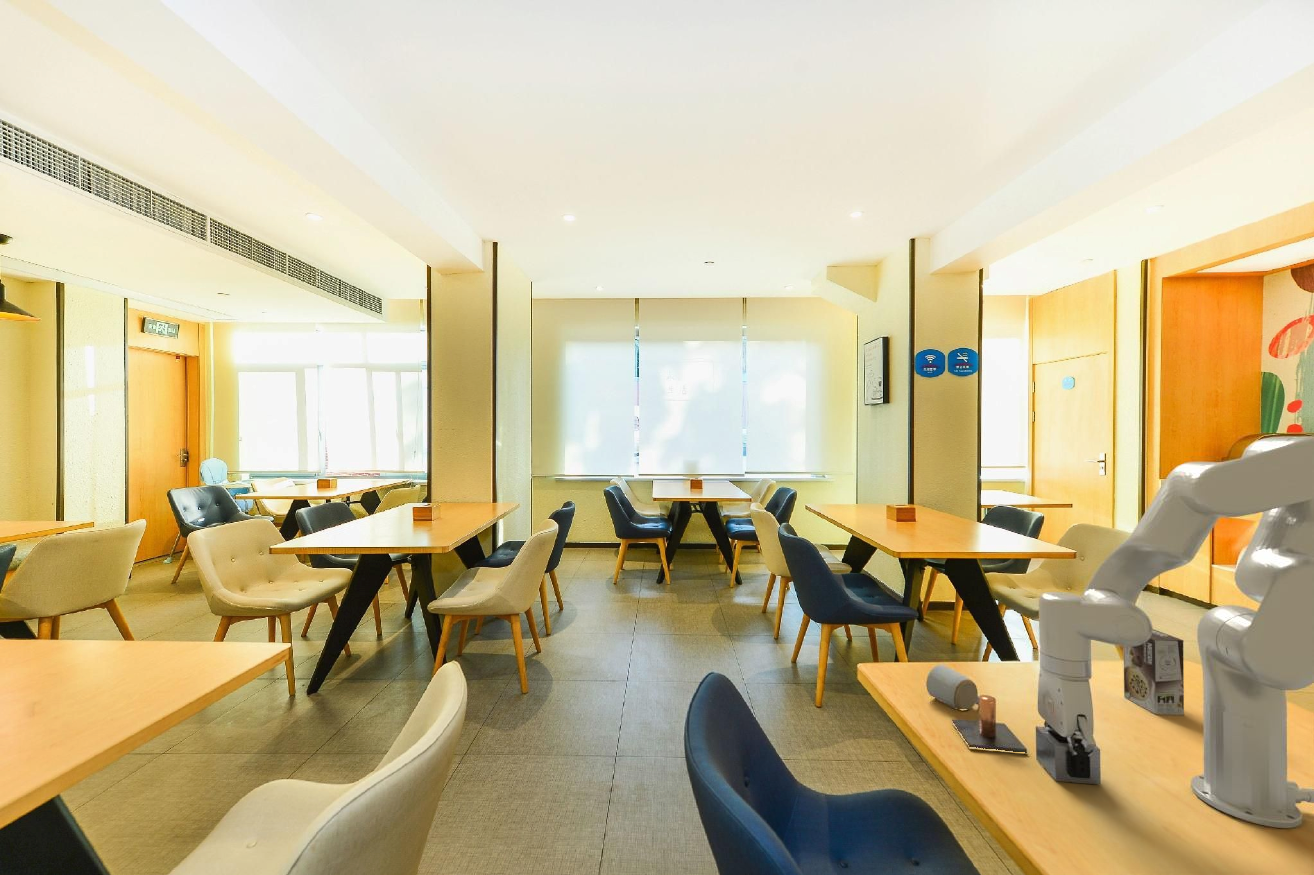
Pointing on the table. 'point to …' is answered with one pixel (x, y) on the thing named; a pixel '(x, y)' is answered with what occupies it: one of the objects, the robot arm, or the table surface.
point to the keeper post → (988, 729)
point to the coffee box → (1156, 674)
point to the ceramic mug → (952, 687)
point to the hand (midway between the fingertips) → (1067, 764)
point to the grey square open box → (1063, 756)
